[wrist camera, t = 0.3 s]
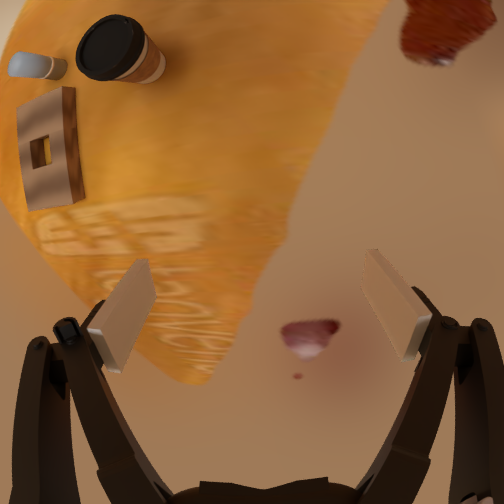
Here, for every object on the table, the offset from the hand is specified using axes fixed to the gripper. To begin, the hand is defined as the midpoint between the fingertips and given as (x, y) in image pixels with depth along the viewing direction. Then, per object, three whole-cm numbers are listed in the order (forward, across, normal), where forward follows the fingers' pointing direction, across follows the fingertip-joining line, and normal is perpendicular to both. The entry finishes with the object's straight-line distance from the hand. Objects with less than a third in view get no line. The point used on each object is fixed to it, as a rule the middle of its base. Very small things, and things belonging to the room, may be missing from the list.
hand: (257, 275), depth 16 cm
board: (+28, -35, +11) cm, 46 cm away
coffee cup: (+28, -15, +20) cm, 38 cm away
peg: (+28, -33, +26) cm, 50 cm away
